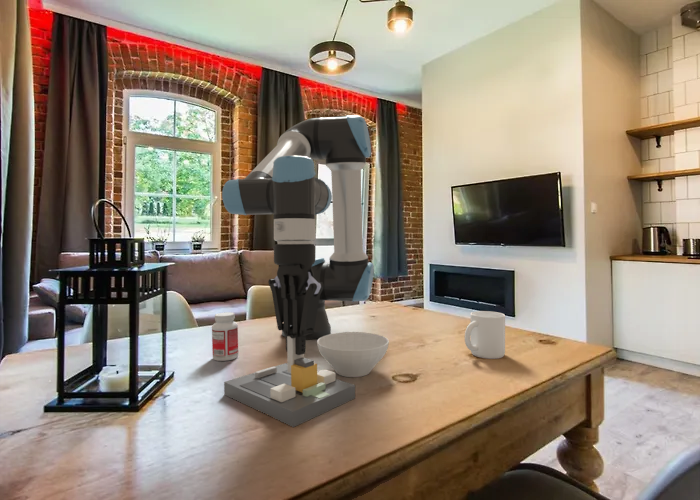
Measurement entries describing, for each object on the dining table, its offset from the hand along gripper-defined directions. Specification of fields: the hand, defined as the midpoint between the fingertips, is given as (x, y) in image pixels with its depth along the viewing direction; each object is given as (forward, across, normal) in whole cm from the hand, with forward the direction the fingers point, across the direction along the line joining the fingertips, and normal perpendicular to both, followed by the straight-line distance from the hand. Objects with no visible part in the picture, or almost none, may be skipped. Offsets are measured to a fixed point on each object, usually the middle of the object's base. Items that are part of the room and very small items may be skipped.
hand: (295, 370), depth 74 cm
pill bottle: (+6, -33, +6) cm, 34 cm away
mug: (+6, +15, +49) cm, 51 cm away
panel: (+5, -2, 0) cm, 6 cm away
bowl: (+6, -2, +19) cm, 20 cm away
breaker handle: (+3, +2, 0) cm, 3 cm away
